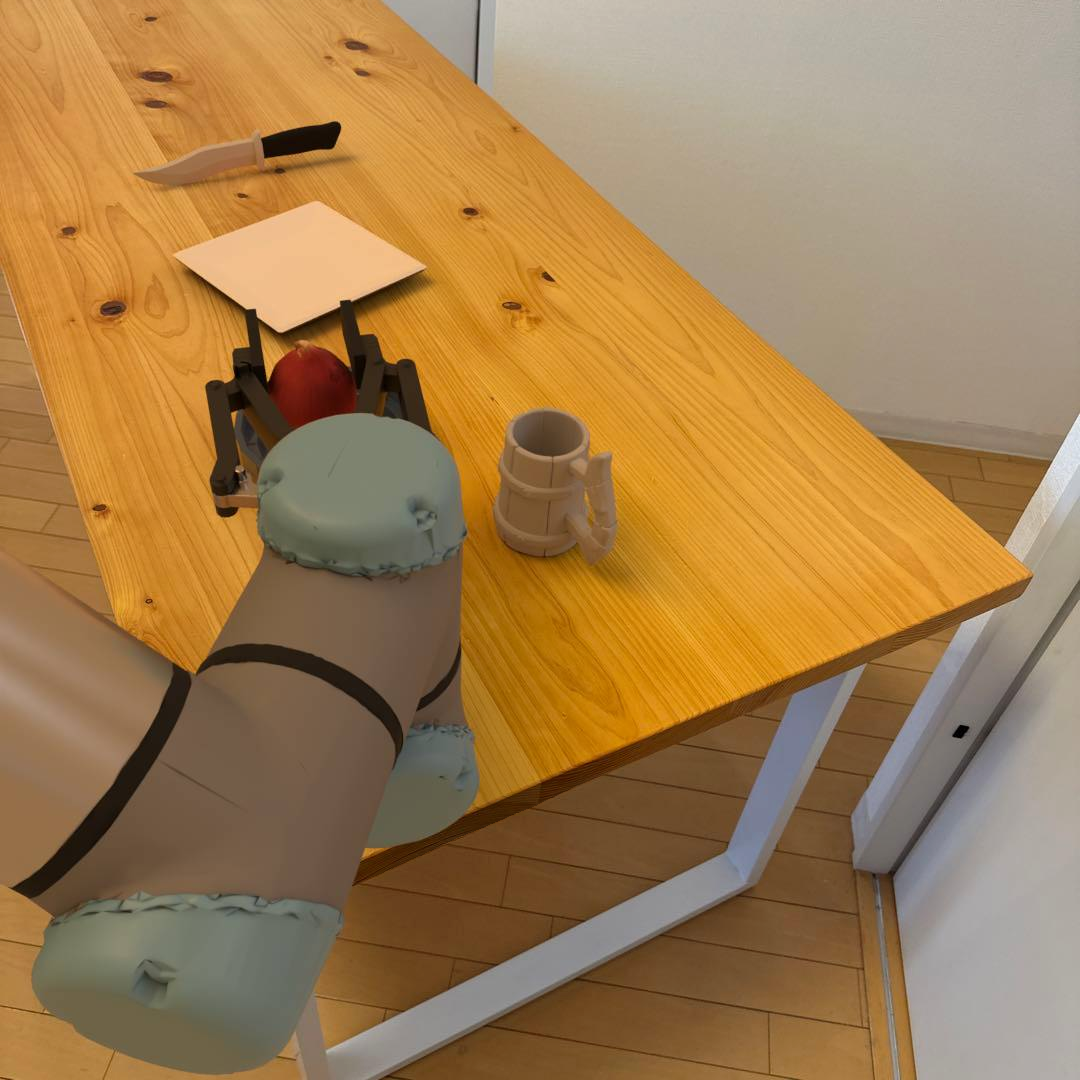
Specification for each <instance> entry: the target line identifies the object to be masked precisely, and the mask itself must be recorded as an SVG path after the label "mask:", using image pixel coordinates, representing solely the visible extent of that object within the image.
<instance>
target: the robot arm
mask: <svg viewBox="0 0 1080 1080" xmlns="http://www.w3.org/2000/svg"><path fill="white" fill-rule="evenodd" d="M339 311H340V319H341V331H342V332H341V333H342V337H343V342H344V344H345V349H346V353H347V356H348V361H349V365H350V367H351V369H352V373H353V377H354V381H355V385H356V389H357V390H358V389H360V393H359V398H358V402H357V407H356V411H355V413H353V414H342V415H335V416H330V417H326V418H323V419H319V420H316V421H313V422H311V423H308V424H306V425H304V426H302V427H300V428H298V429H296V428H295V427H291V426H290V425H289V423H288V422H287V421H286V419H285V418H284V416H283V415H282V413H281V412H280V410H279V409H278V408H277V406H276V405H275V403H274V402H273V400H272V399H271V397H270V396H269V389H268V383H267V381H268V377H267V371H266V364H265V359H264V352H263V346H262V345H263V344H262V339H261V332H260V327H259V319H258V318H257V313H256V309H244V317H245V325H246V331H247V339H248V345H249V346H246V347H245V346H244V347H236V348H234V349H233V351H232V352H231V356H232V372H233V378H232V379H231V380H229V381H226V382H224V380H220V379H213V380H209V381H207V382H206V383H205V385H204V389H205V396H206V400H207V406H208V412H209V419H210V425H211V432H212V434H213V435H212V437H213V442H214V448H215V449H214V450H215V454H216V460H215V463H214V466H213V469H212V471H211V474H210V477H209V480H208V482H209V486H210V490H211V495H212V499H213V503H214V508H215V511H216V515H217V516H219V517H220V518H226V519H227V518H231V517H233V516H235V515H236V514H237V513H238V512H239V509H240V508H241V509H244V508H245V509H257V511H256V513H255V514H256V516H257V517H256V519H255V521H256V529H257V530H256V531H257V535H259V537H260V539H261V541H262V542H263V548H262V553H261V557H260V560H259V562H258V564H257V566H256V567H255V569H254V571H253V573H252V575H251V576H250V578H249V580H248V582H247V583H246V585H245V587H244V589H243V590H242V592H241V594H240V596H239V597H238V600H237V601H236V603H235V604H234V607H233V608H232V610H231V612H230V614H229V615H228V618H227V619H226V621H225V623H224V624H223V626H222V629H220V632H219V634H218V635H217V638H216V639H215V641H214V643H213V644H212V647H211V648H210V650H209V652H208V653H207V655H206V657H205V659H204V660H203V661H202V662H201V663H200V664H199V667H198V668H197V670H196V672H195V673H194V672H192V671H191V670H186V669H185V668H183V667H181V666H180V665H179V664H177V663H176V662H174V661H172V660H171V659H170V658H168V657H167V656H164V654H162V653H161V652H159V651H158V650H156V649H154V648H153V647H152V646H150V645H149V644H147V643H145V642H144V641H143V640H141V639H139V638H138V637H137V636H135V635H134V634H132V633H130V632H129V631H128V630H126V629H124V628H123V627H121V626H120V625H118V624H117V623H116V622H114V621H112V620H111V619H110V618H108V617H106V616H105V615H103V614H102V613H100V611H97V610H96V609H95V608H93V607H91V606H90V605H88V604H87V603H86V602H84V601H82V600H81V599H80V598H78V597H77V596H75V595H74V594H72V593H70V592H69V591H68V590H66V589H64V588H62V587H61V586H60V585H58V584H57V583H55V582H54V581H52V580H51V579H49V578H48V577H46V576H45V575H44V574H42V573H40V572H39V571H38V570H36V569H34V568H33V567H31V566H30V565H28V564H27V563H26V562H24V561H22V560H21V559H20V558H18V557H16V556H15V555H13V554H12V553H10V552H9V551H7V550H6V549H4V548H3V547H1V546H0V885H2V886H4V887H7V889H10V890H11V891H13V892H16V893H18V894H19V895H21V896H23V897H25V898H27V899H28V900H29V901H31V902H32V903H33V904H35V905H36V906H38V907H39V908H41V909H42V910H44V911H45V912H46V913H48V914H49V915H51V918H50V920H49V922H48V924H47V925H46V927H45V928H44V930H43V932H42V935H43V943H42V946H41V947H40V950H39V952H38V954H37V956H36V957H35V960H34V961H33V964H32V968H31V974H30V975H31V977H30V981H31V988H32V991H33V993H34V995H35V997H36V999H37V1000H38V1002H39V1003H40V1005H41V1007H43V1009H44V1010H45V1011H47V1012H48V1013H49V1014H50V1015H52V1016H53V1017H54V1018H56V1019H57V1020H60V1021H62V1022H65V1023H67V1024H69V1025H71V1026H72V1027H73V1029H74V1030H75V1032H76V1033H77V1034H79V1035H80V1036H82V1037H84V1038H86V1039H87V1040H90V1041H92V1042H94V1043H96V1044H97V1045H99V1046H102V1047H104V1048H106V1049H109V1050H111V1051H113V1052H116V1053H119V1054H122V1055H125V1056H127V1057H129V1058H132V1059H135V1060H138V1061H141V1062H144V1063H148V1064H151V1065H155V1066H158V1067H162V1068H166V1069H170V1070H175V1071H179V1072H184V1073H189V1074H197V1075H207V1076H208V1075H209V1076H222V1075H233V1074H236V1073H244V1072H250V1071H254V1070H257V1069H259V1068H262V1067H264V1066H265V1065H267V1064H269V1063H270V1062H272V1061H273V1060H274V1059H276V1058H277V1057H278V1056H279V1055H280V1054H281V1053H282V1052H284V1051H285V1049H286V1047H287V1046H288V1044H289V1043H290V1042H291V1040H292V1038H293V1036H294V1034H295V1032H296V1029H297V1027H298V1025H299V1022H300V1021H301V1018H302V1016H303V1014H304V1012H305V1008H306V1007H307V1005H308V1003H309V1000H310V998H311V996H312V994H313V991H314V989H315V987H316V985H317V983H318V981H319V978H320V976H321V974H322V972H323V969H324V967H325V965H326V963H327V960H328V958H329V956H330V954H331V951H332V949H333V947H334V944H335V942H336V940H337V938H338V936H339V935H341V933H342V930H343V929H344V927H345V914H344V911H345V908H346V905H347V902H348V899H349V896H350V893H351V890H352V887H353V885H354V882H355V878H356V876H357V873H358V870H359V867H360V864H361V861H362V859H363V855H364V852H365V850H366V849H386V848H393V847H398V846H403V845H405V844H411V843H415V842H419V841H422V840H424V839H427V838H430V837H431V836H435V835H436V834H438V833H440V832H441V831H444V830H445V829H447V828H448V827H451V825H453V824H455V823H456V822H457V821H459V820H460V818H462V816H464V815H465V814H466V813H467V811H468V810H469V809H470V808H471V806H472V805H473V803H474V802H475V800H476V797H477V795H478V793H479V789H480V782H481V781H480V780H481V779H480V778H481V776H480V771H479V767H478V766H479V765H478V763H477V757H476V751H475V748H474V743H475V740H476V736H475V733H474V731H473V729H472V728H471V729H470V727H469V723H468V721H467V717H466V713H465V712H466V711H465V707H464V702H463V696H462V662H463V661H462V660H463V650H462V649H463V648H462V638H461V637H462V635H461V634H462V633H461V630H462V629H461V628H462V595H463V594H462V593H463V592H462V591H463V559H464V558H463V557H464V556H463V555H464V554H463V553H464V542H465V541H466V539H467V537H468V526H467V524H466V518H465V517H464V507H463V497H462V496H463V495H462V485H461V476H460V472H459V468H458V466H457V463H456V460H455V458H454V457H453V456H452V454H451V452H450V451H449V450H448V449H447V447H446V446H445V444H444V443H443V442H442V441H441V440H440V438H438V436H437V435H436V434H435V432H433V430H432V426H431V422H430V418H429V414H428V411H427V407H426V402H425V399H424V395H423V390H422V386H421V382H420V378H419V374H418V370H417V369H418V368H417V365H416V362H415V361H414V360H413V359H410V358H401V359H399V360H397V362H396V363H392V362H388V361H386V359H385V358H384V356H383V351H382V349H381V345H380V342H379V339H378V337H377V336H376V335H375V334H374V333H367V334H361V332H360V329H359V324H358V321H357V318H356V314H355V310H354V306H353V303H352V302H351V300H341V301H340V309H339ZM387 392H393V393H398V399H399V403H400V408H401V413H402V417H403V420H402V419H392V418H390V417H382V416H383V411H384V406H385V400H386V401H388V400H387ZM239 410H242V412H243V413H244V415H245V417H246V418H247V420H248V421H249V423H250V424H251V426H252V427H253V429H254V430H255V432H256V433H257V435H258V436H259V438H260V439H261V441H262V442H263V444H264V446H265V447H266V449H267V450H268V452H269V454H268V455H267V456H266V458H265V460H264V462H263V463H262V466H261V468H260V472H259V476H258V481H257V484H255V483H254V482H253V479H252V475H251V474H250V473H249V472H246V471H245V468H244V466H241V463H240V458H239V453H238V447H237V442H236V437H235V432H234V422H233V418H232V417H233V416H232V413H235V412H236V413H237V411H239Z"/></svg>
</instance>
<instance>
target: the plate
mask: <svg viewBox="0 0 1080 1080" xmlns="http://www.w3.org/2000/svg"><path fill="white" fill-rule="evenodd" d="M172 256H173V258H174V259H176V260H177V261H178V262H179V263H181V264H182V265H183V266H185V267H186V268H187V269H189V270H190V271H192V272H193V273H194V274H196V275H197V276H198V277H200V278H202V279H203V280H204V281H205V282H207V283H208V284H210V285H211V286H212V287H214V288H215V289H217V290H218V291H219V292H221V293H222V294H223V295H225V296H226V297H228V298H229V299H230V300H232V301H233V302H235V303H236V304H237V305H239V307H242V308H243V309H244V310H246V309H256V313H257V319H258V320H260V321H261V323H264V324H265V325H266V326H268V328H269V327H270V328H271V329H272V330H273V331H275V332H276V333H277V334H279V335H284V334H286V333H289V332H292V331H294V330H296V329H298V328H300V327H302V326H304V325H307V324H309V323H311V322H314V321H317V320H318V319H320V318H322V317H325V316H327V315H329V314H331V313H333V312H336V311H338V310H340V301H341V300H351V302H352V304H354V303H356V302H358V301H360V300H363V299H366V298H367V297H369V296H371V295H373V294H376V293H378V292H381V291H383V290H384V289H387V288H389V287H391V286H393V285H396V284H398V283H400V282H402V281H405V280H408V279H409V278H412V277H414V276H416V275H418V274H421V273H423V272H424V271H425V270H426V269H427V265H425V263H422V262H421V261H419V260H418V259H416V258H414V257H413V256H410V255H408V254H407V253H405V252H404V251H402V250H400V249H399V248H397V247H396V246H394V245H392V244H391V243H389V242H388V241H386V240H384V239H383V238H381V237H379V236H378V235H376V234H374V233H372V232H371V231H369V230H368V229H366V228H365V227H362V226H361V225H360V224H358V223H356V222H355V221H353V220H351V219H349V218H348V217H347V216H344V215H343V214H341V213H340V212H338V211H336V210H335V209H334V208H333V209H332V207H329V206H328V205H327V204H324V203H323V202H322V201H319V200H314V201H311V202H308V203H305V204H303V205H300V206H297V207H295V208H293V209H290V210H287V211H284V212H281V213H279V214H276V215H273V216H270V217H268V218H265V219H262V220H260V221H258V222H254V223H252V224H249V225H247V226H244V227H241V228H239V229H236V230H233V231H229V232H228V233H225V234H223V235H220V236H217V237H215V238H211V239H209V240H206V241H204V242H201V243H198V244H195V245H193V246H190V247H187V248H185V249H182V250H180V251H177V252H174V253H173V255H172Z"/></svg>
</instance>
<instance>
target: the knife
mask: <svg viewBox="0 0 1080 1080" xmlns="http://www.w3.org/2000/svg"><path fill="white" fill-rule="evenodd" d="M341 132H342V124H341V123H340V122H339V121H337V120H334V121H330V122H326V123H322V124H314V125H306V126H300V127H295V128H291V129H286V130H283V131H278V132H276V133H273V134H270V135H266V136H263V137H261V131H260V129H259V128H258V129H254V130H253V131H252V133H251V136H250V137H248V138H243V139H237V140H236V139H235V140H232V141H225V142H221V143H215V144H210V145H209V144H208V145H205V146H201V147H198V148H196V149H194V150H192V151H189V152H188V153H186V154H184V155H182V156H180V157H178V158H176V159H173V160H171V161H168V162H164V163H161V164H158V165H155V166H151V167H148V168H144V169H141V170H137V171H134V172H132V174H133V175H135V176H136V177H138V178H140V179H142V180H144V181H147V182H149V183H153V184H158V185H166V186H182V185H183V186H184V185H189V184H193V183H196V182H200V181H201V180H202V181H203V180H204V179H206V178H209V177H211V176H214V175H217V174H221V173H224V172H227V171H231V170H236V169H241V168H247V167H251V166H257V168H258V169H259V170H260V171H262V172H264V171H266V168H265V159H272V158H278V157H286V156H292V155H300V154H304V153H308V152H314V151H331V150H334V148H335V147H336V145H337V142H338V139H339V137H340V134H341Z"/></svg>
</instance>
